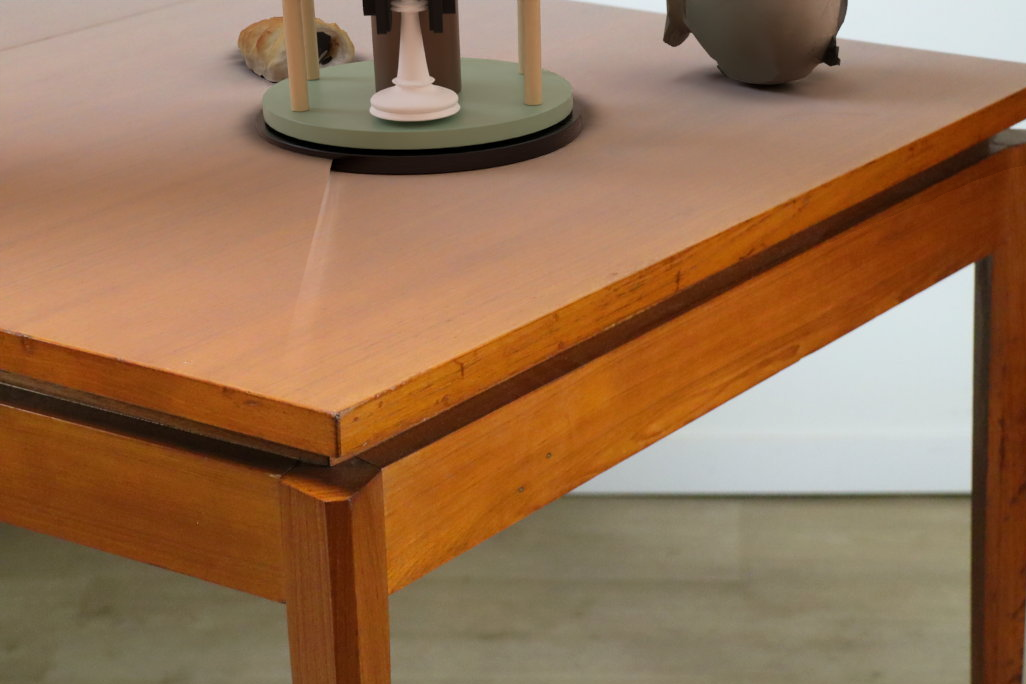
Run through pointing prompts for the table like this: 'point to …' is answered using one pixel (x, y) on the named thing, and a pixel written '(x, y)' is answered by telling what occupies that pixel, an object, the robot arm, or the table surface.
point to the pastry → (268, 47)
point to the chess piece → (413, 76)
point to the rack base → (432, 150)
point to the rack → (478, 83)
